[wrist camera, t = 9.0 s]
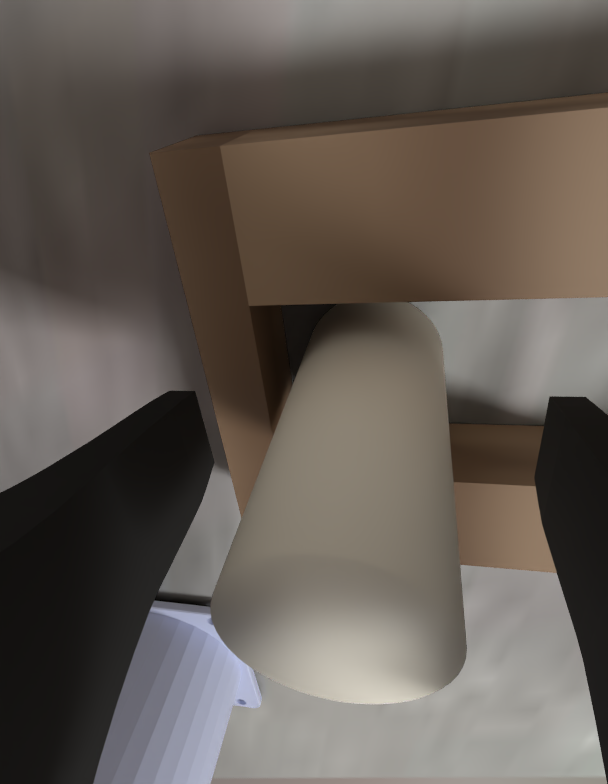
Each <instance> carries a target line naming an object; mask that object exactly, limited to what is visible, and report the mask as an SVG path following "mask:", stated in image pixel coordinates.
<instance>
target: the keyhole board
mask: <svg viewBox="0 0 608 784" xmlns="http://www.w3.org/2000/svg"><path fill="white" fill-rule="evenodd" d="M149 154H150V158H151V162H152V166H153V170H154V174H155V178H156V182H157V186H158V190H159V194H160V198H161V202H162V206H163V209H164V213H165V217H166V221H167V225H168V229H169V233H170V237H171V241H172V245H173V249H174V253H175V257H176V261H177V265H178V269H179V273H180V277H181V281H182V285H183V288H184V292H185V296H186V300H187V304H188V308H189V312H190V316H191V320H192V324H193V328H194V332H195V336H196V340H197V344H198V348H199V352H200V356H201V360H202V364H203V367H204V371H205V375H206V379H207V383H208V387H209V391H210V395H211V399H212V403H213V407H214V411H215V415H216V419H217V423H218V427H219V431H220V435H221V439H222V443H223V446H224V450H225V454H226V458H227V462H228V466H229V470H230V474H231V478H232V482H233V486H234V490H235V494H236V498H237V502H238V506H239V510H240V514H241V518H242V516H243V514H244V511H245V508H246V506H247V503H248V501H249V498H250V495H251V493H252V490H253V487H254V485H255V482H256V480H257V477H258V474H259V472H260V469H261V466H262V464H263V461H264V459H265V456H266V453H267V451H268V448H269V446H270V443H271V440H272V438H273V435H274V432H275V430H276V427H277V425H278V422H279V419H280V417H281V414H282V411H283V409H284V406H285V404H286V401H287V398H288V396H289V393H290V390H291V388H292V379H291V372H290V365H289V358H288V351H287V344H286V337H285V330H284V323H283V317H282V310H281V305H302V304H342V303H383V302H424V301H464V300H505V299H546V298H586V297H608V93H598V94H589V95H579V96H570V97H560V98H551V99H541V100H532V101H522V102H512V103H503V104H493V105H484V106H474V107H465V108H455V109H446V110H436V111H427V112H417V113H408V114H398V115H389V116H379V117H370V118H360V119H351V120H341V121H332V122H322V123H313V124H303V125H294V126H284V127H275V128H265V129H256V130H246V131H237V132H227V133H218V134H208V135H199V136H194V137H191V138H189V139H186V140H183V141H181V142H178V143H175V144H172V145H170V146H167V147H164V148H161V149H159V150H156V151H153V152H150V153H149ZM543 429H544V426H527V425H490V424H452V423H449V433H450V445H451V458H452V470H453V483H454V495H455V508H456V520H457V533H458V545H459V558H460V565H471V566H483V567H494V568H506V569H518V570H529V571H541V572H553V573H557V572H556V568H555V565H554V562H553V559H552V556H551V552H550V549H549V546H548V542H547V539H546V536H545V533H544V529H543V526H542V521H541V516H540V510H539V505H538V499H537V492H536V486H535V479H534V476H535V471H536V465H537V460H538V455H539V450H540V445H541V439H542V434H543Z"/></svg>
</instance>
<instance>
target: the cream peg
mask: <svg viewBox="0 0 608 784" xmlns="http://www.w3.org/2000/svg"><path fill="white" fill-rule="evenodd" d="M210 613H211V618H212V622H213V625H214V627H215V630H216V632H217V633H218V635H219V637H220V638H221V640H222V641H223V642H224V644H225V645H226V646H227V647H228V649H230V650H231V651H232V652H233V653H234V654H235V655H236V656H237V657H238V658H239V659H240V660H241V661H243V662H244V663H245V664H246V665H248V666H249V667H251V668H252V669H254V670H255V671H257V672H258V673H260V674H262V675H264V676H265V677H267V678H269V679H271V680H273V681H275V682H277V683H279V684H281V685H284V686H286V687H289V688H291V689H294V690H296V691H299V692H302V693H305V694H308V695H312V696H316V697H320V698H324V699H329V700H334V701H340V702H347V703H356V704H391V703H399V702H406V701H411V700H415V699H419V698H422V697H425V696H427V695H430V694H433V693H435V692H437V691H438V690H440V689H442V688H444V687H445V686H446V685H448V684H449V683H451V682H452V681H453V680H454V679H455V678H456V676H457V675H458V674H459V672H460V671H461V669H462V668H463V665H464V662H465V659H466V651H467V645H466V633H465V620H464V608H463V595H462V583H461V570H460V558H459V545H458V533H457V520H456V508H455V495H454V483H453V470H452V458H451V445H450V433H449V420H448V408H447V395H446V383H445V370H444V358H443V348H442V342H441V339H440V336H439V333H438V331H437V329H436V327H435V326H434V324H433V323H432V322H431V320H430V319H429V318H428V317H427V316H426V315H425V314H424V313H423V312H422V311H421V310H419V309H418V308H416V307H415V306H413V305H412V304H410V303H408V302H383V303H342V304H337V305H336V306H334V307H333V308H331V309H330V310H329V311H328V312H327V313H325V315H324V316H323V317H322V318H321V319H320V320H319V322H318V323H317V325H316V326H315V329H314V331H313V333H312V335H311V338H310V341H309V343H308V346H307V349H306V351H305V354H304V356H303V359H302V362H301V364H300V367H299V369H298V372H297V375H296V377H295V380H294V383H293V385H292V388H291V390H290V393H289V396H288V398H287V401H286V404H285V406H284V409H283V411H282V414H281V417H280V419H279V422H278V425H277V427H276V430H275V432H274V435H273V438H272V440H271V443H270V446H269V448H268V451H267V453H266V456H265V459H264V461H263V464H262V466H261V469H260V472H259V474H258V477H257V480H256V482H255V485H254V487H253V490H252V493H251V495H250V498H249V501H248V503H247V506H246V508H245V511H244V514H243V516H242V519H241V522H240V524H239V527H238V529H237V532H236V535H235V537H234V540H233V542H232V545H231V548H230V550H229V553H228V556H227V558H226V561H225V563H224V566H223V569H222V571H221V574H220V577H219V579H218V582H217V584H216V587H215V590H214V592H213V595H212V599H211V603H210Z"/></svg>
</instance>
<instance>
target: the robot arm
mask: <svg viewBox="0 0 608 784" xmlns="http://www.w3.org/2000/svg"><path fill="white" fill-rule="evenodd" d="M213 465H214V459H213V455H212V452H211V448H210V444H209V441H208V437H207V433H206V430H205V426H204V422H203V419H202V415H201V411H200V408H199V404H198V400H197V397H196V393H195V391H169V392H167V393H165V394H163V395H161V396H159V397H158V398H156V399H154V400H153V401H151V402H149V403H148V404H146V405H145V406H143V407H142V408H140V409H139V410H137V411H136V412H134V413H133V414H131V415H129V416H128V417H126V418H125V419H123V420H122V421H120V422H119V423H117V424H116V425H114V426H113V427H111V428H110V429H108V430H107V431H105V432H104V433H102V434H101V435H99V436H98V437H96V438H95V439H93V440H91V441H90V442H88V443H87V444H85V445H83V446H82V447H80V448H79V449H77V450H75V451H74V452H72V453H70V454H69V455H67V456H65V457H64V458H62V459H60V460H59V461H57V462H56V463H54V464H52V465H51V466H49V467H47V468H46V469H44V470H42V471H40V472H39V473H37V474H35V475H33V476H32V477H30V478H28V479H26V480H24V481H22V482H21V483H19V484H17V485H15V486H13V487H11V488H9V489H7V490H5V491H3V492H1V493H0V784H211V780H212V777H213V773H214V770H215V766H216V763H217V759H218V756H219V752H220V749H221V745H222V742H223V738H224V735H225V731H226V728H227V724H228V721H229V717H230V714H231V710H232V707H233V705H237V706H244V707H250V708H258V707H259V706H260V704H261V700H262V697H261V694H260V690H259V687H258V684H257V681H256V677H255V674H254V671H253V669H252V668H251V667H249V666H248V665H246V664H245V663H244V662H243V661H241V660H240V659H239V658H238V657H237V656H236V655H235V654H234V653H233V652H232V651H231V650H230V649H228V647H227V646H226V645H225V644H224V642H223V641H222V640H221V638H220V637H219V635H218V633H217V632H216V630H215V627H214V625H213V622H212V618H211V613H210V607H208V606H199V605H191V604H182V603H173V602H165V601H156V600H155V597H156V595H157V593H158V591H159V588H160V586H161V584H162V582H163V580H164V578H165V576H166V574H167V572H168V570H169V568H170V566H171V564H172V562H173V560H174V558H175V556H176V554H177V552H178V550H179V548H180V546H181V544H182V542H183V540H184V538H185V536H186V533H187V531H188V529H189V527H190V525H191V523H192V521H193V519H194V517H195V515H196V513H197V511H198V508H199V506H200V504H201V502H202V499H203V496H204V493H205V490H206V487H207V484H208V481H209V478H210V475H211V471H212V468H213ZM534 479H535V486H536V492H537V499H538V505H539V510H540V516H541V521H542V526H543V529H544V533H545V536H546V539H547V542H548V546H549V549H550V552H551V556H552V559H553V562H554V565H555V568H556V572H557V575H558V578H559V581H560V584H561V588H562V591H563V594H564V597H565V600H566V603H567V607H568V610H569V613H570V616H571V619H572V623H573V626H574V629H575V632H576V635H577V639H578V643H579V647H580V650H581V654H582V658H583V662H584V666H585V671H586V676H587V681H588V686H589V691H590V696H591V701H592V705H593V710H594V715H595V720H596V725H597V731H598V736H599V742H600V747H601V752H602V758H603V763H604V768H605V774H606V779H607V784H608V415H607V414H605V413H604V412H603V411H602V410H601V409H600V408H598V407H597V406H596V405H595V404H594V403H592V402H591V401H590V400H589V399H587V398H586V397H550V398H549V403H548V408H547V413H546V419H545V424H544V429H543V434H542V439H541V445H540V450H539V455H538V460H537V465H536V471H535V476H534Z"/></svg>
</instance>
